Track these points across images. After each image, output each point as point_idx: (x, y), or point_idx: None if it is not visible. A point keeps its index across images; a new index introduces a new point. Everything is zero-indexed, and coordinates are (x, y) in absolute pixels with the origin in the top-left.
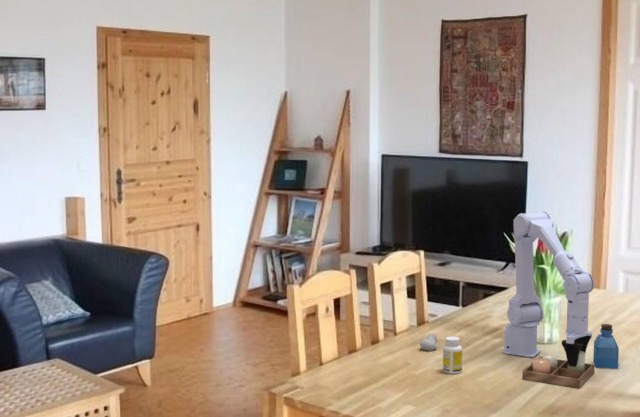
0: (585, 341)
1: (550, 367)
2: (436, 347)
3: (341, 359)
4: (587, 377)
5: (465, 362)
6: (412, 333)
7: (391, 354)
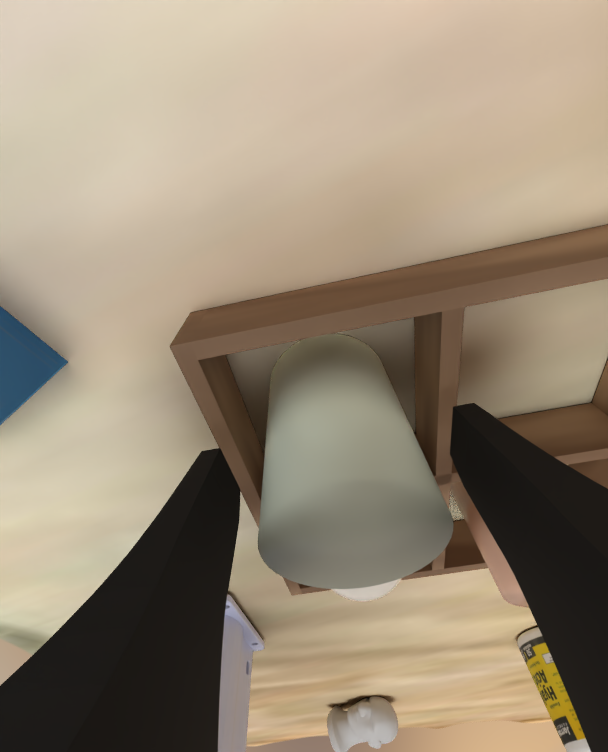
0: (141, 679)
1: None
2: (365, 705)
3: (538, 716)
4: (419, 273)
5: (432, 647)
6: (275, 735)
7: (457, 706)
